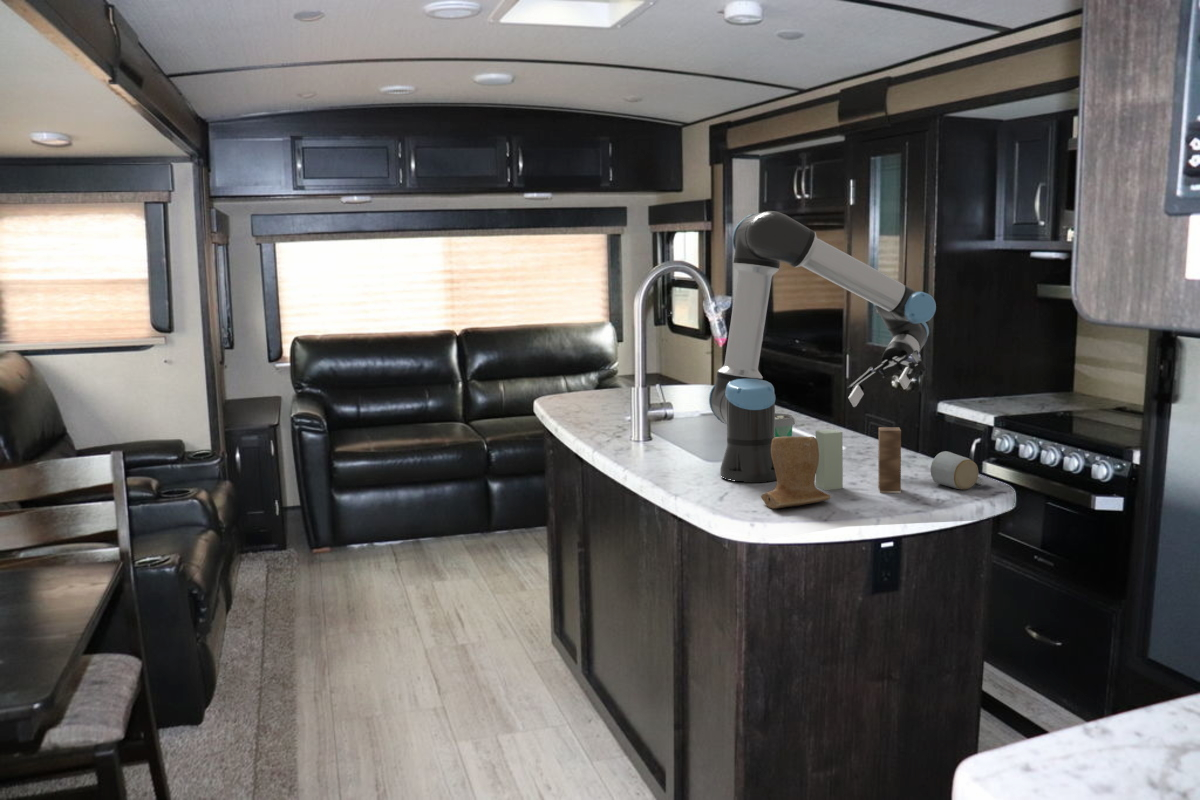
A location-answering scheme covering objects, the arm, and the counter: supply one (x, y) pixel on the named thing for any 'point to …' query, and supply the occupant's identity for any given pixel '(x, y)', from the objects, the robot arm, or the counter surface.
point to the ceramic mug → (954, 471)
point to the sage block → (830, 459)
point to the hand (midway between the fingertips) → (876, 393)
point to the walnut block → (889, 460)
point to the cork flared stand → (794, 472)
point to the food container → (783, 425)
